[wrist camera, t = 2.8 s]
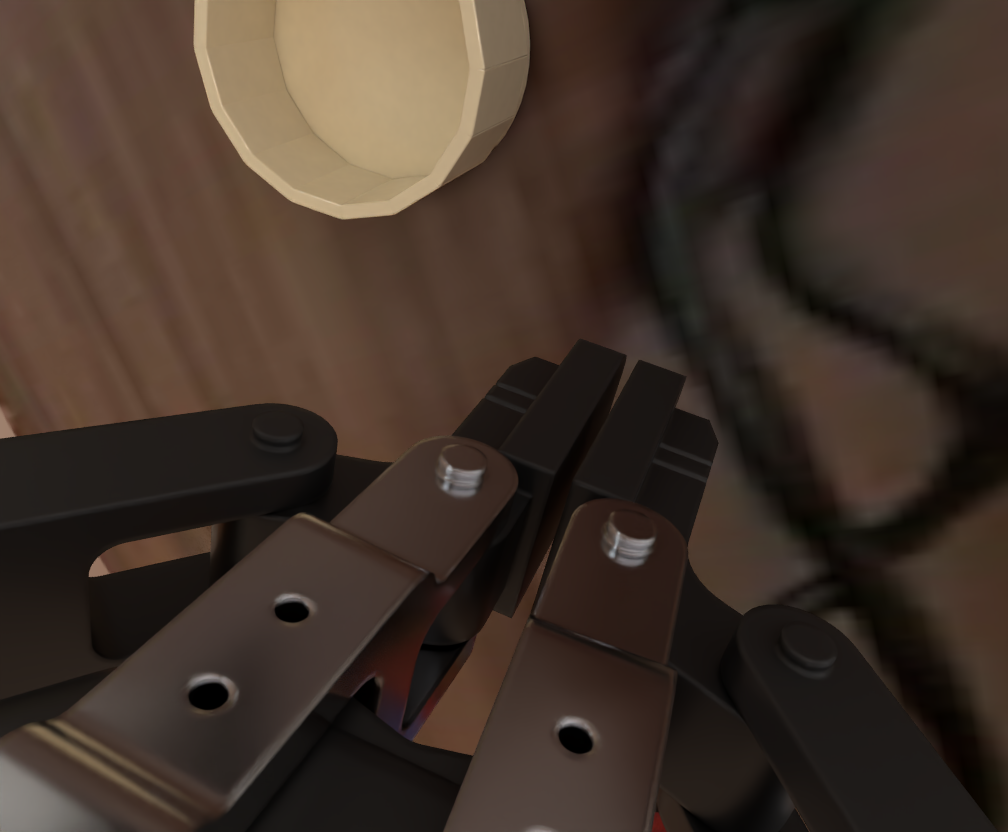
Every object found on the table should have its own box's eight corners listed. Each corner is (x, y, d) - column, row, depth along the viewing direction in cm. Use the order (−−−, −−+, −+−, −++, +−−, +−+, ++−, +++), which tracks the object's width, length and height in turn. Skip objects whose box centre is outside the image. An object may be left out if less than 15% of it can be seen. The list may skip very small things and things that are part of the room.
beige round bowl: (282, -155, 30) (197, -168, 26) (562, -80, 28) (514, -83, 24) (262, 142, 35) (189, 167, 31) (496, 221, 33) (449, 258, 29)
